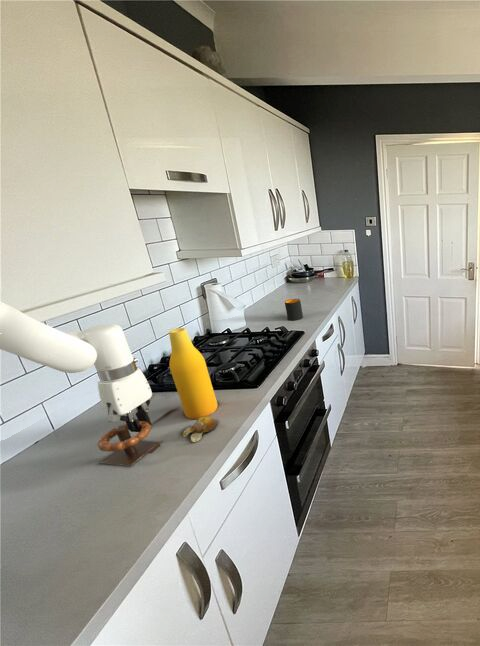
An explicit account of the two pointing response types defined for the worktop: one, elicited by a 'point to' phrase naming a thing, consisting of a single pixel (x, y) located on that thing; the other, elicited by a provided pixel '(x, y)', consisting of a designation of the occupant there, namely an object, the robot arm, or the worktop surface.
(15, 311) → the robot arm
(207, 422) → the fruit
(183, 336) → the beer bottle
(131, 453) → the brown peg stand
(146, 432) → the ring
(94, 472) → the worktop surface
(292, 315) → the mug
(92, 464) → the worktop surface
